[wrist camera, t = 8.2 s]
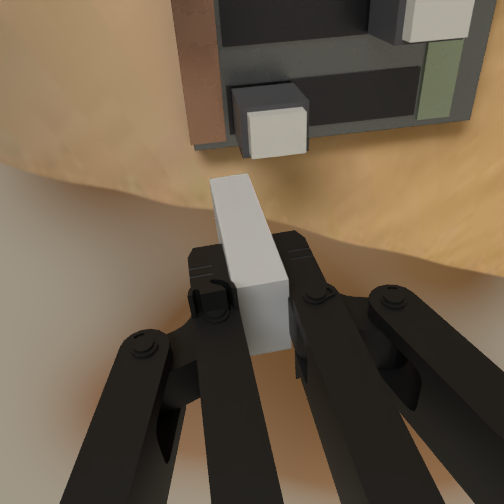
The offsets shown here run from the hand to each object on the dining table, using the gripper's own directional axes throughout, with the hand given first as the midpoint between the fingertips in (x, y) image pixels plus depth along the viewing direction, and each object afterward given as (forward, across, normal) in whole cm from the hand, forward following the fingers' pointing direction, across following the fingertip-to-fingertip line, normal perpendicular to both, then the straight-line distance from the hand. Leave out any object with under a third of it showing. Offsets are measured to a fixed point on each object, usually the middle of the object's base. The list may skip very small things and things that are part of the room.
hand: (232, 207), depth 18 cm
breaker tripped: (+13, +4, -1) cm, 14 cm away
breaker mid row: (+13, +13, +4) cm, 19 cm away
